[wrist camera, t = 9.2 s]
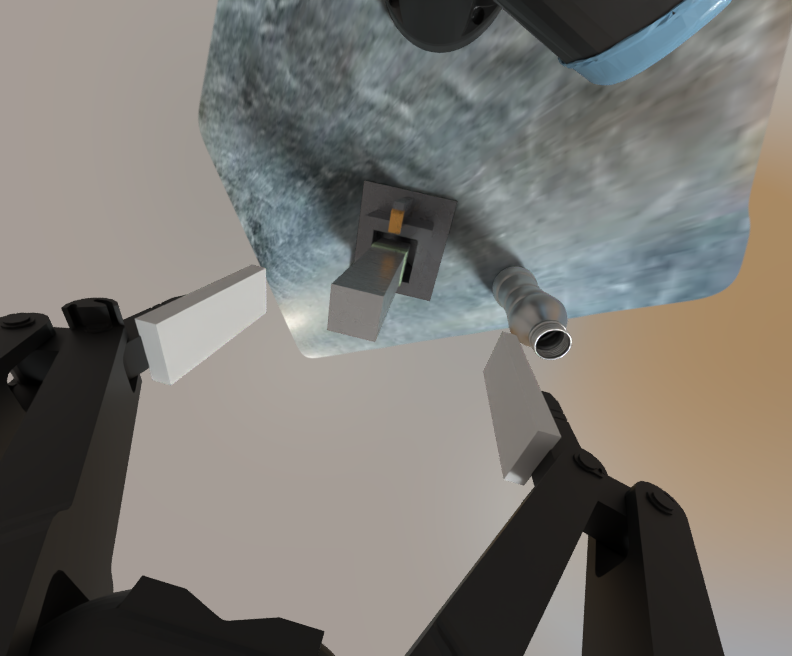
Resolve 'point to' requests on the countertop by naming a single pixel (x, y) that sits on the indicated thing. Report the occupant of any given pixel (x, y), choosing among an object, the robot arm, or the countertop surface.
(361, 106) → the countertop surface
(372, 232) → the stand
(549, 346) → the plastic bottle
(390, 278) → the column
